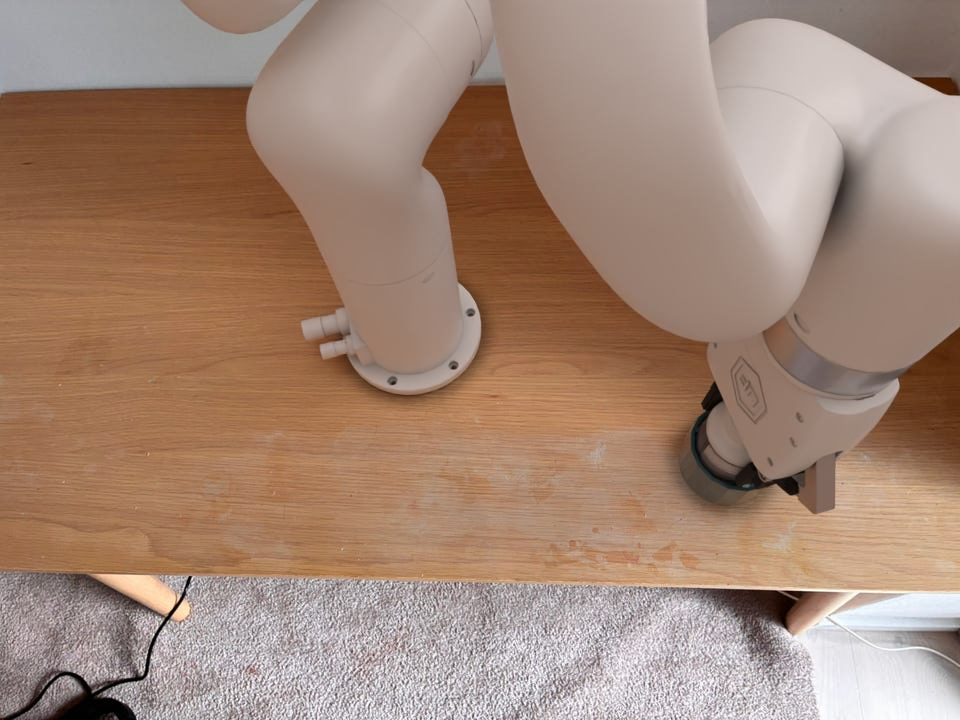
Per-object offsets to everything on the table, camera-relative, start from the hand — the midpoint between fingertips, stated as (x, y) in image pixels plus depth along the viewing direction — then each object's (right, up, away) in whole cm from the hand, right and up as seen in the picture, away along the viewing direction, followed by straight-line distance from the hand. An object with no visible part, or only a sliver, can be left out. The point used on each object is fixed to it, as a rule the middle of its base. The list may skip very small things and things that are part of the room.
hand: (737, 438), depth 51 cm
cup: (+1, -3, +5) cm, 6 cm away
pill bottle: (0, -2, +5) cm, 5 cm away
